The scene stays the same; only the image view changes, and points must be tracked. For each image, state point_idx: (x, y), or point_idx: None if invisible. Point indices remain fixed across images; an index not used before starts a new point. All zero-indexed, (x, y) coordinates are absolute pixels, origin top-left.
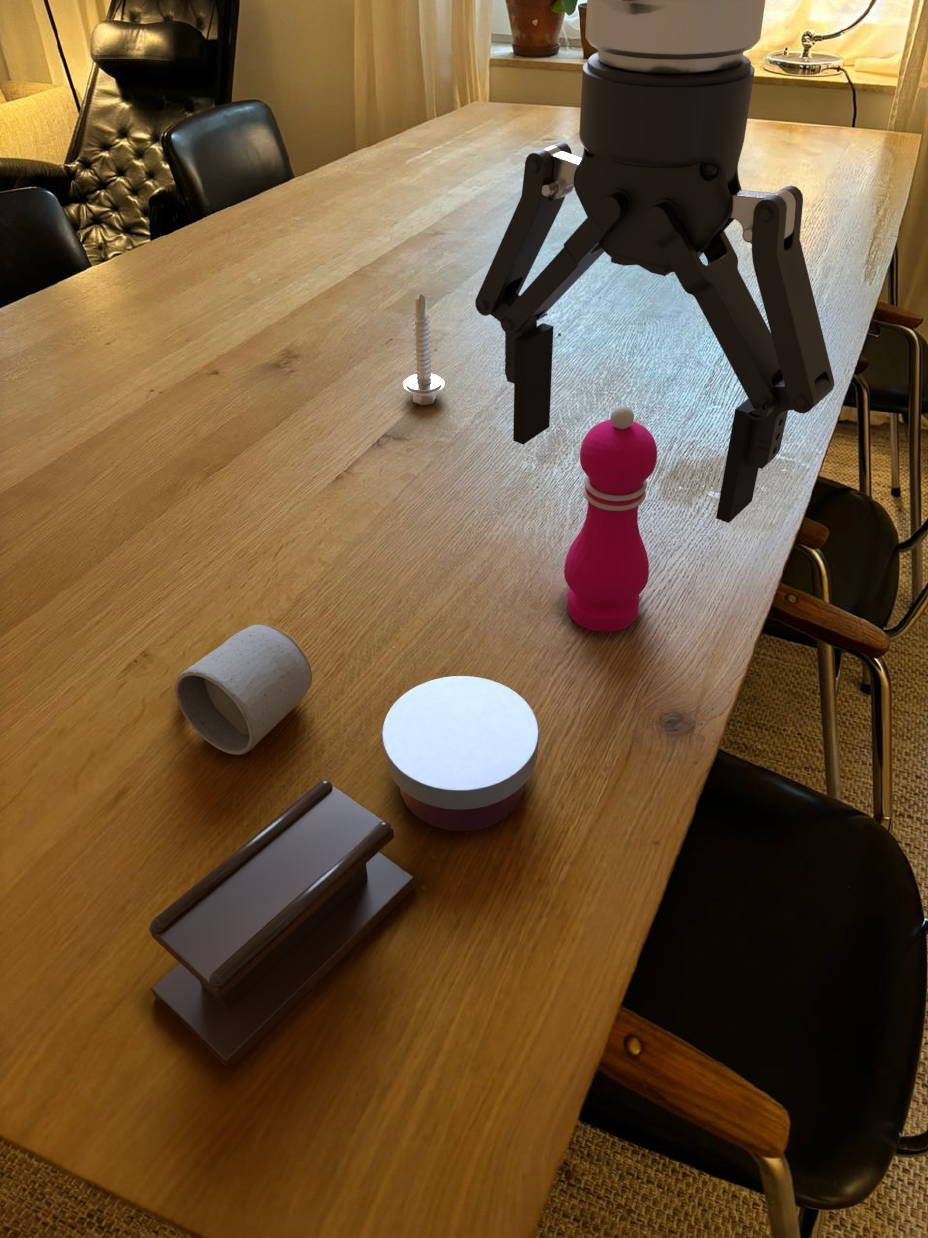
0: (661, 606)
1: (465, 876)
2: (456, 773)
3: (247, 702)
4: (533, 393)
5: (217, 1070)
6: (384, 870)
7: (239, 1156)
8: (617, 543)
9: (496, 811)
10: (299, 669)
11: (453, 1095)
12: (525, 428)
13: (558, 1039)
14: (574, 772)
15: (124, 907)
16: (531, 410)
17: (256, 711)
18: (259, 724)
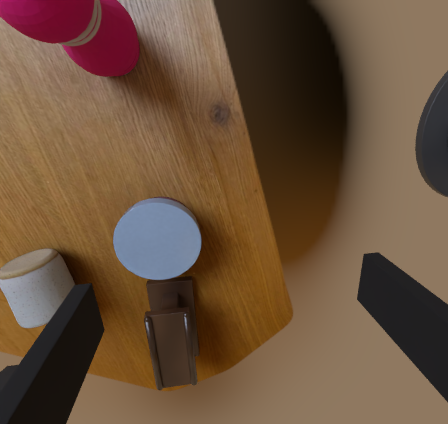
0: (140, 6)
1: (203, 259)
2: (179, 263)
3: None
4: (73, 372)
5: None
6: (180, 286)
7: (221, 357)
8: (107, 42)
9: None
10: (52, 270)
11: (257, 311)
12: (96, 344)
13: (272, 279)
14: (200, 183)
15: (118, 349)
16: (86, 353)
17: None
18: None
